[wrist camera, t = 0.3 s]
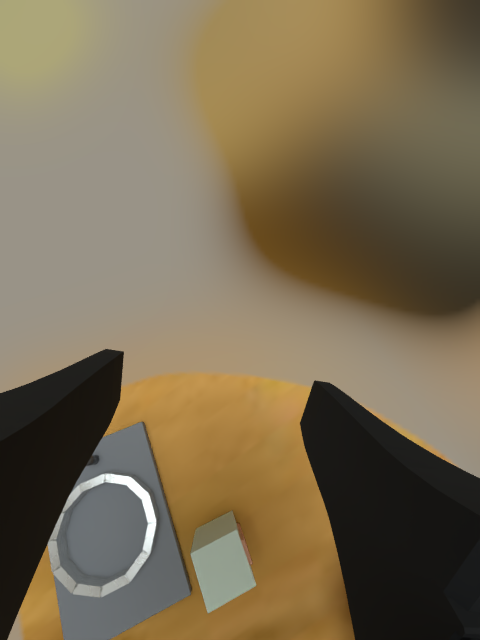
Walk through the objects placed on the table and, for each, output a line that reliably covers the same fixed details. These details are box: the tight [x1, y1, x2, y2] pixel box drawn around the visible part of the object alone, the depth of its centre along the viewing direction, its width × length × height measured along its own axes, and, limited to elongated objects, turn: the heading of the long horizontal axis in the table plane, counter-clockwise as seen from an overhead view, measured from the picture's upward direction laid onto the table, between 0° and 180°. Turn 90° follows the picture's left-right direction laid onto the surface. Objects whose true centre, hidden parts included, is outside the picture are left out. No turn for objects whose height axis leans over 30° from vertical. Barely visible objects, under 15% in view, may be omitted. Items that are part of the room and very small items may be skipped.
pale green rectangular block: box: [190, 511, 256, 613], centre depth 29 cm, size 4×5×8 cm
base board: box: [53, 422, 192, 640], centre depth 32 cm, size 18×12×1 cm, turn 23°
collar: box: [48, 455, 160, 598], centre depth 31 cm, size 13×10×2 cm
